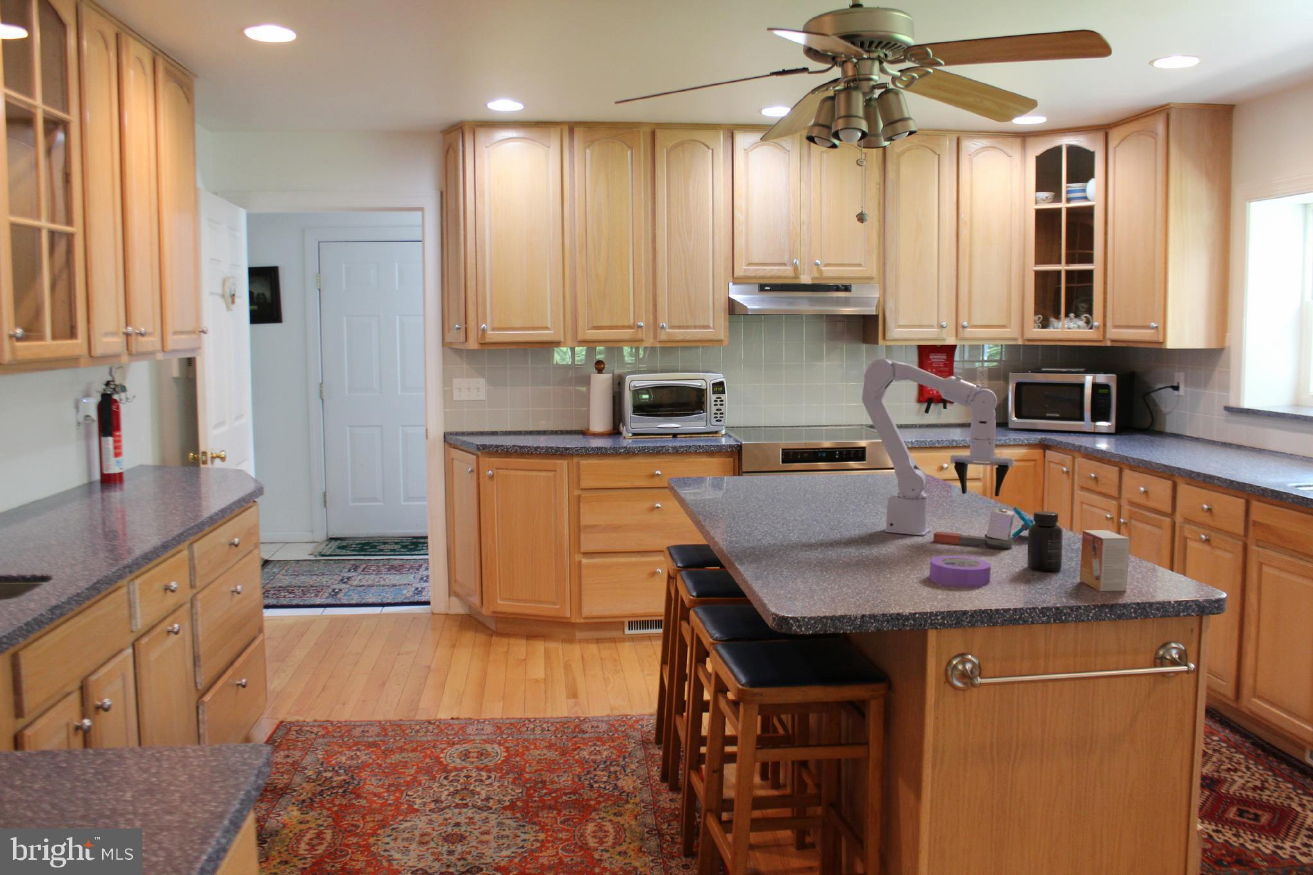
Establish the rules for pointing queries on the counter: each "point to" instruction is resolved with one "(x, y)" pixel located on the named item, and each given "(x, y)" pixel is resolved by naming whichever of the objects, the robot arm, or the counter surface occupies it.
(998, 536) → the socket
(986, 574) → the masking tape
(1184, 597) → the counter surface
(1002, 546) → the ratchet
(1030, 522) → the gear
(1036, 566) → the supplement bottle
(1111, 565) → the small box
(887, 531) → the robot arm
